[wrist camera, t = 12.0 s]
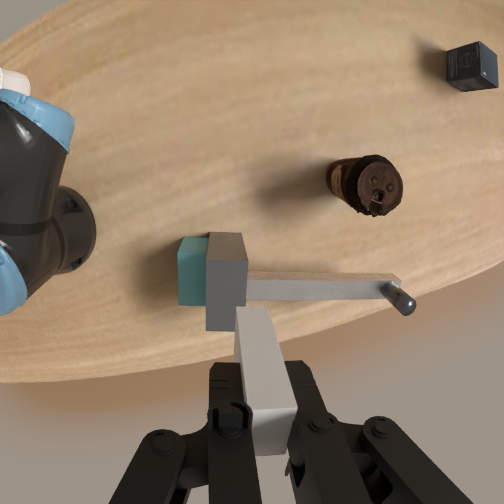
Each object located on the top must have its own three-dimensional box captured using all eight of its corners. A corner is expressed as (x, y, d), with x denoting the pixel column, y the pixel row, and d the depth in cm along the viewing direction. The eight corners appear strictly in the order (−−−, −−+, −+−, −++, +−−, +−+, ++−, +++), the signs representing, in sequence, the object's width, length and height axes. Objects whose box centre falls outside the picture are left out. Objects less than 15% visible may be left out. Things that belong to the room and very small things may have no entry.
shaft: (228, 290, 43) (230, 322, 35) (229, 270, 42) (231, 300, 34) (388, 290, 46) (416, 316, 38) (392, 273, 45) (422, 297, 37)
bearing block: (208, 289, 51) (205, 330, 39) (210, 231, 48) (206, 259, 36) (238, 290, 52) (243, 331, 39) (241, 233, 49) (248, 260, 36)
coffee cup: (335, 213, 49) (370, 234, 37) (308, 172, 46) (338, 180, 34) (373, 185, 48) (416, 196, 36) (349, 143, 45) (389, 143, 33)
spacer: (184, 282, 50) (178, 305, 43) (184, 236, 48) (177, 252, 40) (208, 283, 51) (206, 306, 43) (208, 237, 48) (206, 253, 41)
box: (464, 92, 43) (499, 88, 33) (445, 81, 43) (481, 75, 33) (464, 61, 41) (497, 54, 31) (446, 50, 40) (479, 40, 30)
